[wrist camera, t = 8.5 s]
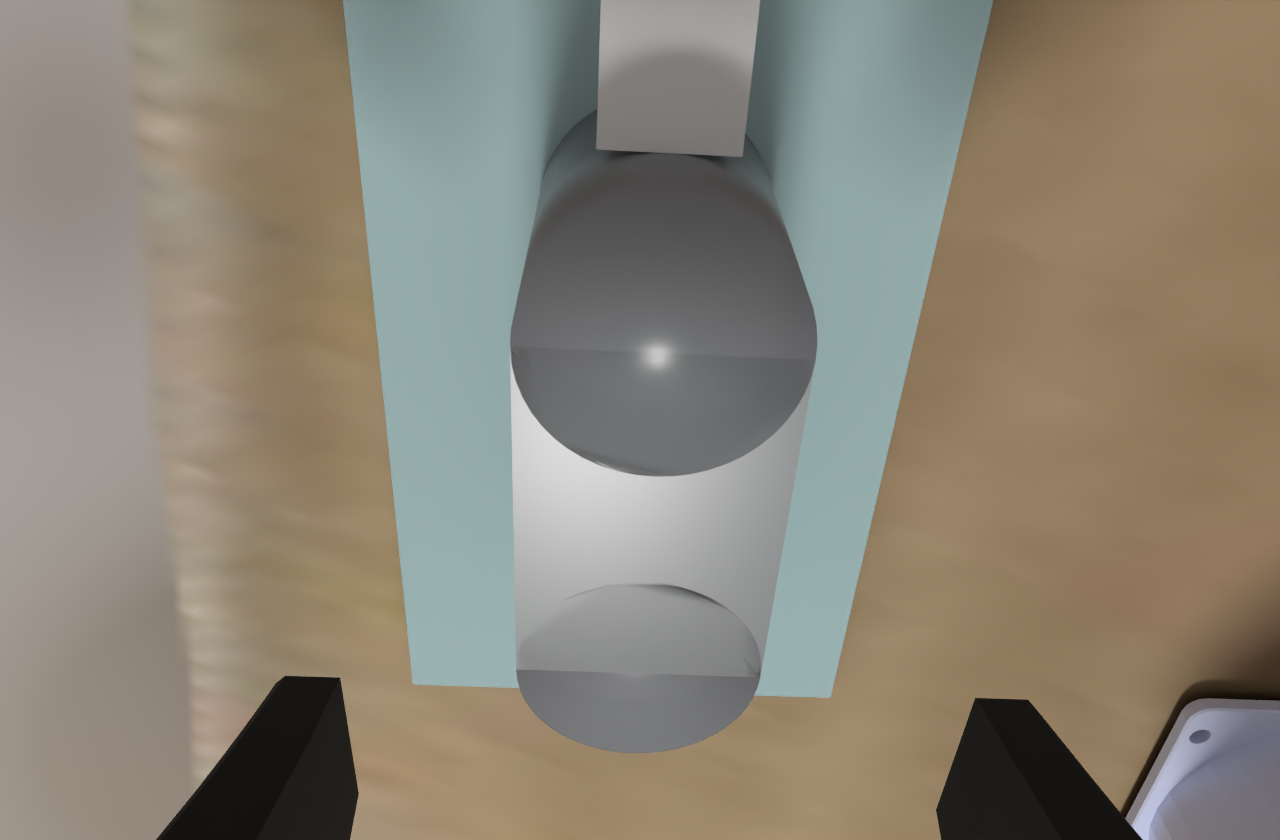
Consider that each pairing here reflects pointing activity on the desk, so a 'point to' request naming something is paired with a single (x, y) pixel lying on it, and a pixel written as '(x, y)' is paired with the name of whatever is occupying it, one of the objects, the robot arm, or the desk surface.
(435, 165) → the mat
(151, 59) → the desk surface
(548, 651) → the plug
